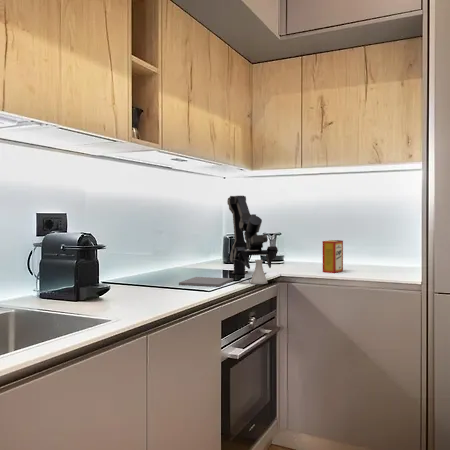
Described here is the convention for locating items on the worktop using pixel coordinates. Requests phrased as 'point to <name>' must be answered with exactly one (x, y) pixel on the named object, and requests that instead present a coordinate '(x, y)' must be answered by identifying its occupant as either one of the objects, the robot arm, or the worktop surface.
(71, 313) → the worktop surface
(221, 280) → the mat
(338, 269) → the baking soda box
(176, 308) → the worktop surface
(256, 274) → the flask
